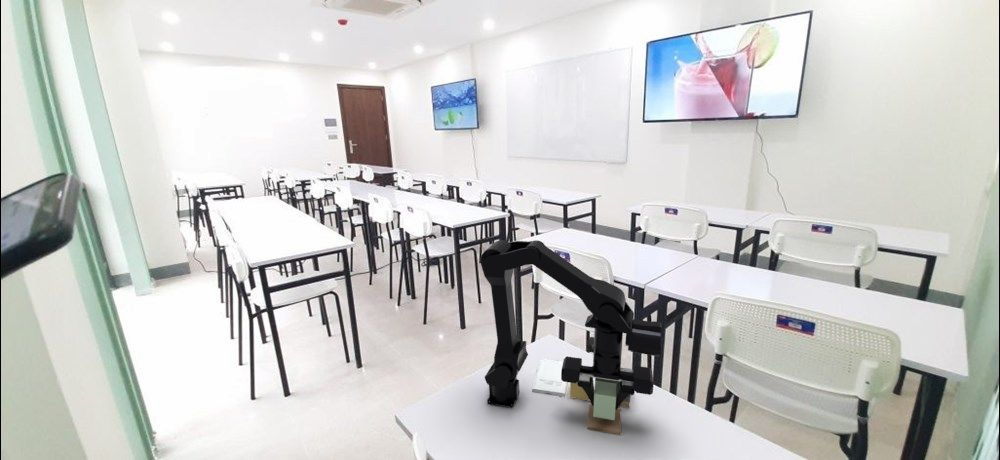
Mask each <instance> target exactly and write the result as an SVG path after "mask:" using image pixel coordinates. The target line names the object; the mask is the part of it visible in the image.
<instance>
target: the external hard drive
mask: <svg viewBox="0 0 1000 460" xmlns="http://www.w3.org/2000/svg"><path fill="white" fill-rule="evenodd" d="M562 366H563V361H560V360H552V359H545V358H540V360H539V363H538V367H537V370H536V374H535V378H534V382H533V385H532V389H531V393H536V394H537V393H538V394H545V395H547V394H548V395H551V396H557V397H566V393H567V387H568V382H563V381H562V380H561V371H562Z"/></svg>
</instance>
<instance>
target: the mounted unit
mask: <svg viewBox="0 0 1000 460" xmlns="http://www.w3.org/2000/svg"><path fill="white" fill-rule="evenodd" d="M622 369H629V368H627V367H621V370H622ZM595 381H602V382H609V383H616V395H617V390H618V386H619V381H614V380H607V379H600V378H594V382H595ZM630 404H631V395H629V396H628V397H627V398H626V399H625V400H624V401H623V402H622V403H621V405H620V406H619V407H625V408H630V407H631V406H630Z"/></svg>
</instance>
